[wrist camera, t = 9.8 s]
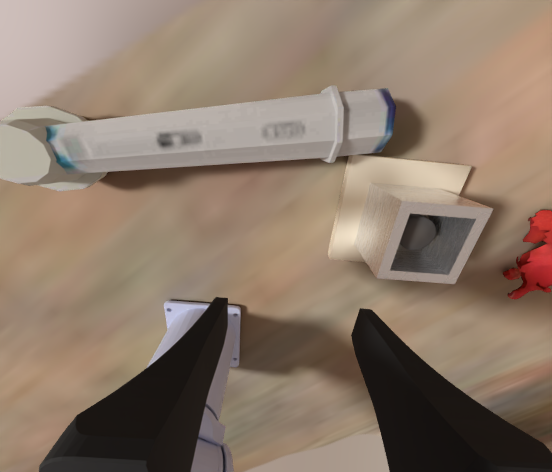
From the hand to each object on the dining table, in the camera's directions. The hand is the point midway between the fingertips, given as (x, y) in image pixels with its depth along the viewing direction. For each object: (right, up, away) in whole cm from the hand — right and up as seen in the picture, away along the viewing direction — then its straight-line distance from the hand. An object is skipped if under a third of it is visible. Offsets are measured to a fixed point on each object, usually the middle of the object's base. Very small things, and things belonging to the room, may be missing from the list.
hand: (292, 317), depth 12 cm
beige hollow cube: (+9, +6, +6) cm, 12 cm away
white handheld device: (-6, +12, +5) cm, 15 cm away
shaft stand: (+9, +6, +7) cm, 13 cm away
